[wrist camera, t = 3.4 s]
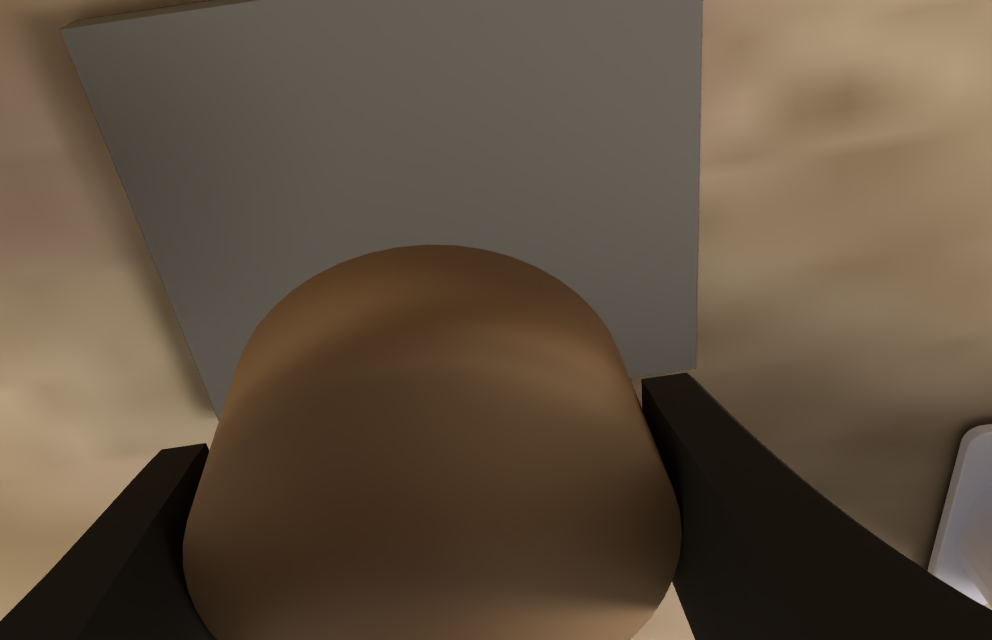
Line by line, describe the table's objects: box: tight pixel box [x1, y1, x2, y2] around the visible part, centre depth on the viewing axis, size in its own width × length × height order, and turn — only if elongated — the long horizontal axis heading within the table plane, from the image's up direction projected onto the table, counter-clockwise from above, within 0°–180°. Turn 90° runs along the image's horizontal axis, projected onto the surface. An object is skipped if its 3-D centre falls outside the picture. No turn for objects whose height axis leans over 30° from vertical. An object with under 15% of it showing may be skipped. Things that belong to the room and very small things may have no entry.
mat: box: [60, 0, 703, 420], centre depth 18 cm, size 12×10×1 cm
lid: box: [183, 245, 682, 640], centre depth 11 cm, size 6×6×3 cm
